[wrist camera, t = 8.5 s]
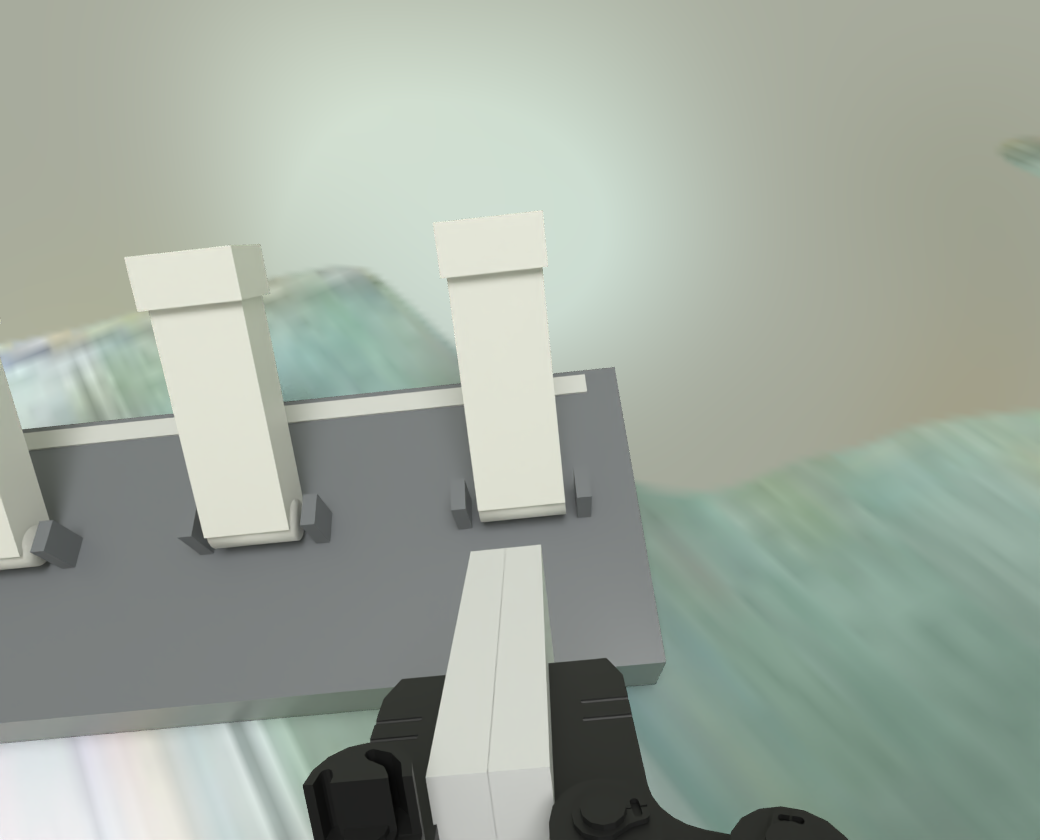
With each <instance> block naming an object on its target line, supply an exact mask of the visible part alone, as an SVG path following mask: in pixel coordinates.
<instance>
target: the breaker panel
mask: <svg viewBox="0 0 1040 840" xmlns="http://www.w3.org/2000/svg"><path fill="white" fill-rule="evenodd" d="M553 382H554V392H555V402H556V412H557V423H558V433H559V443H560V454H561V464H562V474H563V484H564V495H565V506H566V514H561V515H551V516H541V517H531V518H521V519H511V520H501V521H491V522H481V521H480V516H479V511H478V507H477V499H476V492H475V484H474V477H473V469H472V462H471V454H470V447H469V439H468V432H467V424H466V417H465V409H464V402H463V394H462V387H461V383H460V384H450V385H441V386H431V387H422V388H412V389H403V390H393V391H384V392H374V393H365V394H355V395H346V396H336V397H327V398H317V399H308V400H298V401H289V402H284V407H285V412H286V417H287V422H288V427H289V432H290V437H291V442H292V447H293V452H294V457H295V462H296V466H297V471H298V476H299V481H300V486H301V491H302V496H303V500H302V510H301V521H300V526H301V527H302V528H303V529H304V534H303V536H302V538H301V540H299V541H288V542H278V543H268V544H258V545H248V546H238V547H228V548H218V549H215V548H212V547H211V546H210V544H209V543H208V540H207V538H204V536H203V532H202V528H201V524H200V520H199V515H198V511H197V507H196V503H195V499H194V495H193V491H192V487H191V483H190V479H189V474H188V470H187V466H186V462H185V458H184V454H183V450H182V446H181V442H180V438H179V434H178V429H177V425H176V421H175V417H174V414H165V415H156V416H146V417H137V418H127V419H118V420H108V421H99V422H89V423H80V424H71V425H61V426H52V427H42V428H33V429H23V430H22V431H23V434H24V438H25V441H26V444H27V448H28V451H29V454H30V458H31V461H32V464H33V467H34V471H35V474H36V477H37V481H38V484H39V487H40V490H41V494H42V497H43V500H44V504H45V507H46V510H47V513H48V517H49V520H47V521H39V524H38V527H37V531H36V534H35V537H34V540H33V544H32V547H31V550H30V553H32V554H34V555H36V556H38V557H40V558H42V559H44V560H46V562H45V563H44V564H43V565H41V566H36V567H26V568H15V569H5V570H0V743H10V742H21V741H32V740H43V739H54V738H65V737H76V736H87V735H98V734H109V733H120V732H131V731H142V730H153V729H164V728H175V727H186V726H197V725H209V724H220V723H231V722H242V721H253V720H264V719H275V718H286V717H297V716H308V715H319V714H330V713H341V712H352V711H363V710H374V709H380V708H381V705H382V702H383V699H384V698H385V697H386V696H387V695H388V693H389V692H390V691H391V690H392V689H393V688H394V687H395V686H396V685H397V684H398V683H399V681H400V680H401V679H407V678H418V677H429V676H440V675H446V673H447V668H448V663H449V658H450V653H451V648H452V643H453V638H454V633H455V628H456V623H457V618H458V613H459V608H460V603H461V598H462V593H463V588H464V583H465V578H466V573H467V568H468V563H469V558H470V553H471V551H481V550H491V549H501V548H511V547H521V546H531V545H541V549H542V558H543V567H544V575H545V584H546V593H547V602H548V611H549V620H550V628H551V637H552V646H553V655H554V663H556V662H567V661H578V660H589V659H599V658H607V659H608V660H609V661H610V662H611V663H612V664H613V665H614V666H615V667H616V668H617V669H618V670H619V671H620V672H621V673H622V674H623V677H624V682H625V686H626V687H627V686H638V685H649V684H656V682H657V680H658V678H659V676H660V674H661V672H662V670H663V667H664V665H665V663H666V659H665V653H664V648H663V642H662V636H661V631H660V625H659V619H658V613H657V608H656V602H655V596H654V591H653V585H652V579H651V573H650V568H649V562H648V556H647V550H646V545H645V539H644V533H643V528H642V522H641V516H640V510H639V505H638V499H637V493H636V488H635V482H634V476H633V470H632V465H631V459H630V453H629V448H628V442H627V436H626V430H625V425H624V419H623V413H622V408H621V402H620V396H619V390H618V385H617V379H616V373H615V368H614V367H612V368H602V369H593V370H583V371H574V372H564V373H555V374H553Z"/></svg>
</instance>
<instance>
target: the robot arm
mask: <svg viewBox="0 0 1040 840" xmlns="http://www.w3.org/2000/svg"><path fill="white" fill-rule="evenodd" d="M376 722H377V723H376V725H375V726H374V729H373V732H372V735H371V738H370V743H366V744H361V745H357V746H352V747H349V748H346V749H344V750H342V751H340V752H338V753H336V754H334V755H332V756H330V757H328V758H327V759H326V760H325V761H323V762H322V763H321V764H320V765H319V766H317V767H316V768H315V769H314V770H313V771H312V772H311V774H310V775H309V777H308V778H307V780H306V781H305V783H304V784H303V790H304V794H305V799H306V804H307V808H308V813H309V818H310V822H311V827H312V832H313V836H314V840H848V839H847V838H846V837H845V836H844V835H843V834H842V833H840V832H839V831H838V830H837V829H836V828H835V827H833V826H832V825H831V824H830V823H829V822H828V821H826V820H824V819H821V818H819V817H817V816H815V815H813V814H811V813H808V812H806V811H804V810H798V809H792V808H787V807H781V806H780V807H772V808H763V809H758V810H756V811H754V812H752V813H750V814H748V815H746V816H744V817H742V818H741V819H740V821H739V822H738V824H737V825H736V826H735V828H734V829H733V830H732V832H731V835H730V834H724V833H719V832H714V831H709V830H704V829H701V828H697V827H694V826H690V825H687V824H685V823H683V822H681V821H679V820H677V819H675V818H674V817H672V816H671V815H670V814H668V813H667V812H666V811H665V810H663V809H662V808H661V807H660V806H659V805H658V803H657V802H656V801H655V799H654V798H653V797H652V795H651V792H650V790H649V787H648V785H647V780H646V776H645V771H644V767H643V762H642V758H641V753H640V749H639V744H638V740H637V735H636V731H635V726H634V722H633V718H632V713H631V709H630V704H629V700H628V695H627V691H626V686H625V682H624V677H623V674H622V673H621V672H620V671H619V670H618V669H617V668H616V667H615V666H614V665H613V664H612V663H611V662H610V661H609V660H608V659H607V658H599V659H589V660H578V661H567V662H556V663H554V655H553V646H552V637H551V628H550V620H549V611H548V602H547V593H546V584H545V575H544V567H543V558H542V549H541V545H531V546H521V547H511V548H501V549H491V550H481V551H471V553H470V558H469V563H468V568H467V573H466V578H465V583H464V588H463V593H462V598H461V603H460V608H459V613H458V618H457V623H456V628H455V633H454V638H453V643H452V648H451V653H450V658H449V663H448V668H447V673H446V675H440V676H429V677H418V678H407V679H401V680H400V681H399V683H398V684H397V685H396V686H395V687H394V688H393V689H392V690H391V691H390V692H389V693H388V695H387V696H386V697H385V698H384V699H383V702H382V705H381V708H380V711H379V714H378V717H377V720H376Z"/></svg>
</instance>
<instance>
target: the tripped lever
mask: <svg viewBox="0 0 1040 840" xmlns="http://www.w3.org/2000/svg"><path fill="white" fill-rule="evenodd" d="M433 227H434V234H435V242H436V250H437V256H438V263H439V272H440V278H447V281H448V289H449V297H450V304H451V312H452V319H453V327H454V334H455V342H456V349H457V357H458V364H459V372H460V379H461V387H462V394H463V402H464V409H465V417H466V424H467V432H468V439H469V447H470V454H471V462H472V469H473V477H474V484H475V492H476V499H477V507H478V511H479V516H480V521H481V522H491V521H501V520H511V519H521V518H531V517H541V516H551V515H561V514H566V506H565V495H564V484H563V474H562V464H561V454H560V443H559V433H558V423H557V412H556V402H555V392H554V382H553V371H552V361H551V351H550V341H549V331H548V321H547V310H546V300H545V289H544V279H543V269H542V267H548V262H547V251H546V240H545V230H544V219H543V211H542V210H541V211H533V212H524V213H515V214H506V215H497V216H488V217H479V218H470V219H462V220H453V221H443V222H435V223H433Z"/></svg>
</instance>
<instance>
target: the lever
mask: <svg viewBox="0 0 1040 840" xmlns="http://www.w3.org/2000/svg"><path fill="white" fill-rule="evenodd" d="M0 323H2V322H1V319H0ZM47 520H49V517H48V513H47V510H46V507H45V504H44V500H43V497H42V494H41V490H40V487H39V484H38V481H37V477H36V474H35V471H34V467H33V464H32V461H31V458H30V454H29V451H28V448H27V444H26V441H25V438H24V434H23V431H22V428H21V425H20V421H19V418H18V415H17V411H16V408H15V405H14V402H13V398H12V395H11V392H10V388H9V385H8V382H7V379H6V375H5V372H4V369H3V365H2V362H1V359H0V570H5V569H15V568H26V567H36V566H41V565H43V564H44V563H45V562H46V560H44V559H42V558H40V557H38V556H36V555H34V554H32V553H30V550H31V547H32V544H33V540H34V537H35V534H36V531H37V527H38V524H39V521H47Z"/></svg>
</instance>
